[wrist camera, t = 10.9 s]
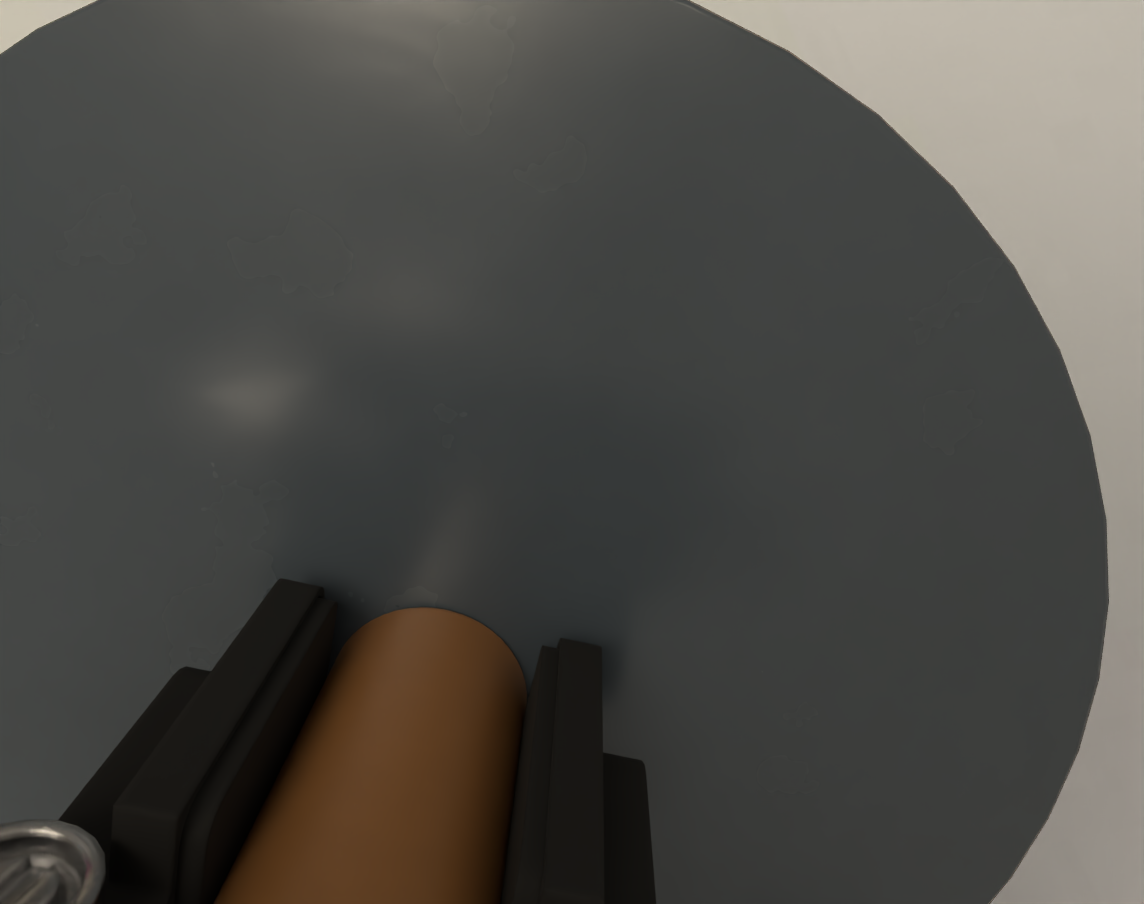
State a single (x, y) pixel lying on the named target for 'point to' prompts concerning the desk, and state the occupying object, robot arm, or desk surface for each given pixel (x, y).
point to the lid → (534, 441)
